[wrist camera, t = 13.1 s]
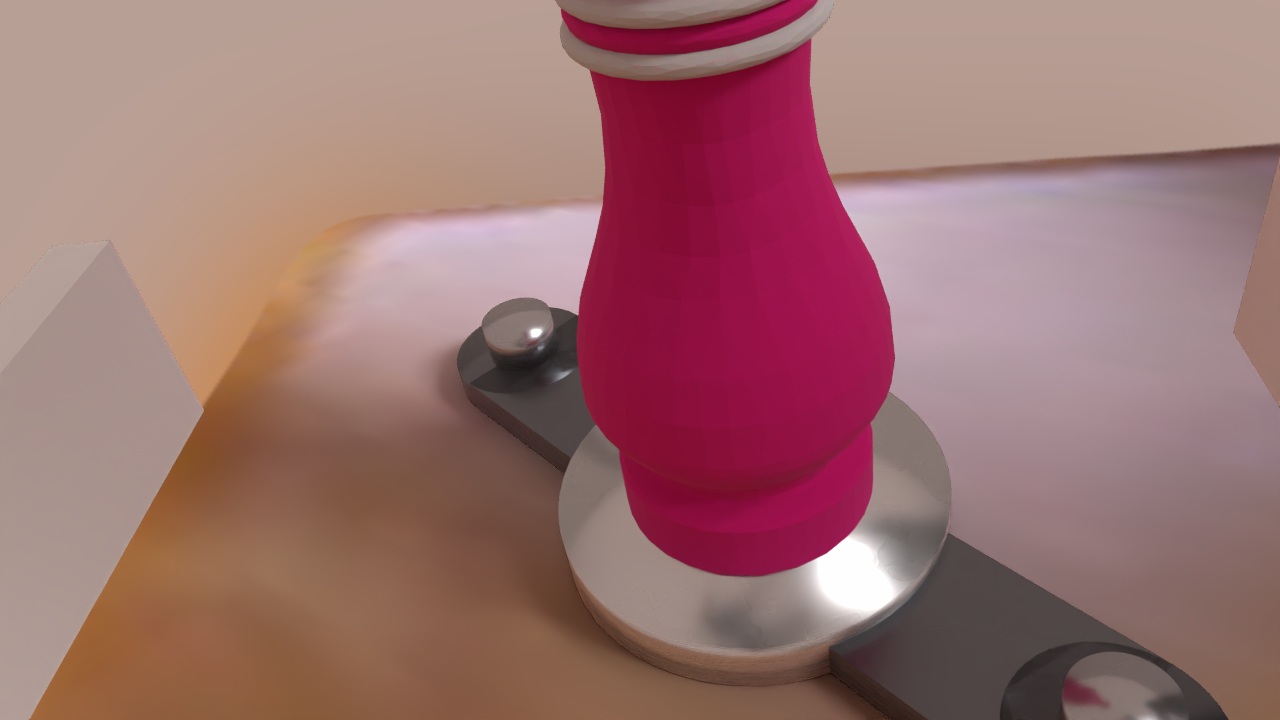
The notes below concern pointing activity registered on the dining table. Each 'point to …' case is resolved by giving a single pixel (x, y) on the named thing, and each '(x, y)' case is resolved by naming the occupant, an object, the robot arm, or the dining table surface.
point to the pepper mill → (726, 285)
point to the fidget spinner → (819, 574)
